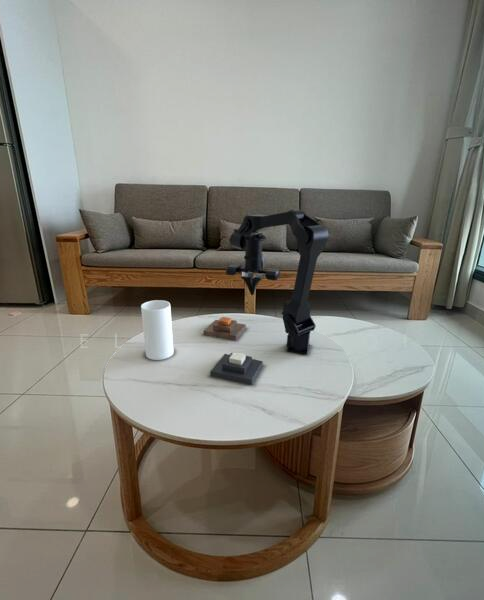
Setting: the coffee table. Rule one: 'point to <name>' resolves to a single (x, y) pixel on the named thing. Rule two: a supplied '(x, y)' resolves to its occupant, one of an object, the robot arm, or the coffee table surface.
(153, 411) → the coffee table surface
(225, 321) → the key back
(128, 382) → the coffee table surface
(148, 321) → the cup
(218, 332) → the stepped brown pyramid
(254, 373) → the dark grey stepped stand
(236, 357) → the key front
